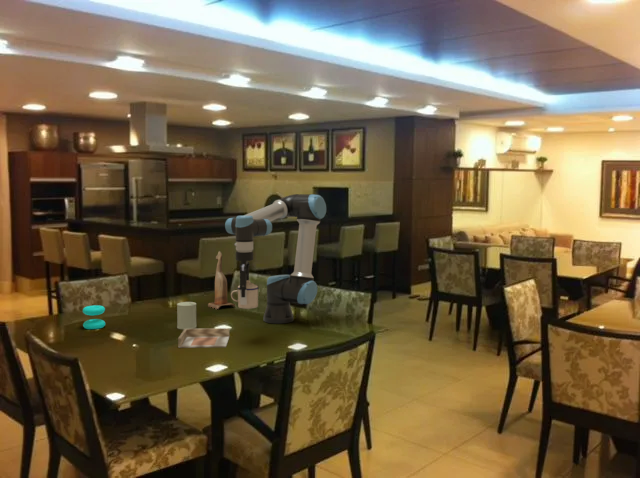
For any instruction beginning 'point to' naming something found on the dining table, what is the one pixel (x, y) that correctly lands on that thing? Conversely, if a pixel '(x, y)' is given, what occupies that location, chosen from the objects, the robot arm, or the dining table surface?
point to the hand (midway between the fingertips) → (244, 302)
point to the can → (186, 315)
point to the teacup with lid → (248, 296)
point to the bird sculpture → (220, 286)
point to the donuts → (94, 322)
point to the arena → (203, 338)
